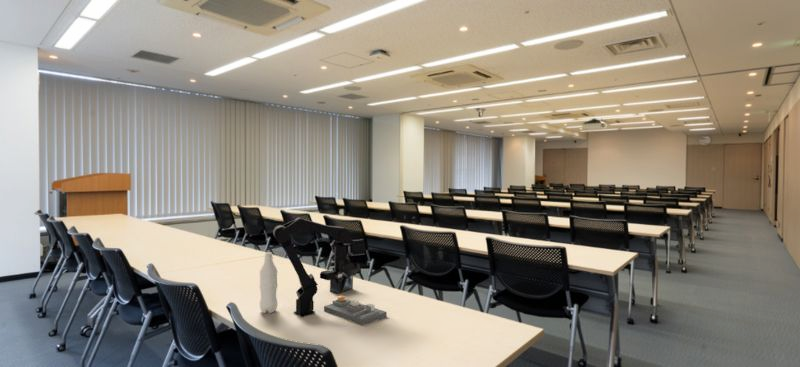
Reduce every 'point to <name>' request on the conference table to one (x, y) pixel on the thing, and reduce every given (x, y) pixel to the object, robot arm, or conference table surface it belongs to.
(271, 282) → the water bottle
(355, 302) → the white button
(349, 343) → the conference table surface
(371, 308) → the block
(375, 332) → the conference table surface
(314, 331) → the conference table surface
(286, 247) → the robot arm
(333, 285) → the small box
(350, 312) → the control panel
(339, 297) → the orange button
